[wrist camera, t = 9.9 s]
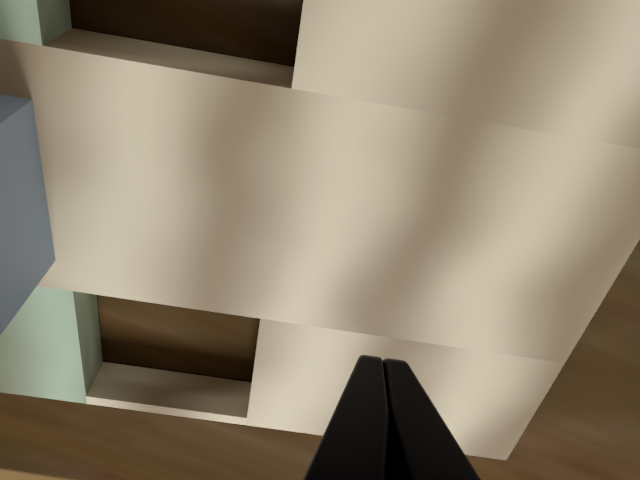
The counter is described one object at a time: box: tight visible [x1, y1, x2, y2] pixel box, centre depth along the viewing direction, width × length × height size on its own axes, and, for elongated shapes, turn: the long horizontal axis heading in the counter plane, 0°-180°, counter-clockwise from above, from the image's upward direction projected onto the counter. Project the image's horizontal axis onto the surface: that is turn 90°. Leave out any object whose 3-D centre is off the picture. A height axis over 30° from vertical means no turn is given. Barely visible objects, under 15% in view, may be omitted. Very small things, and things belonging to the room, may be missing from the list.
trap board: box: [0, 0, 640, 460], centre depth 18 cm, size 28×22×4 cm
